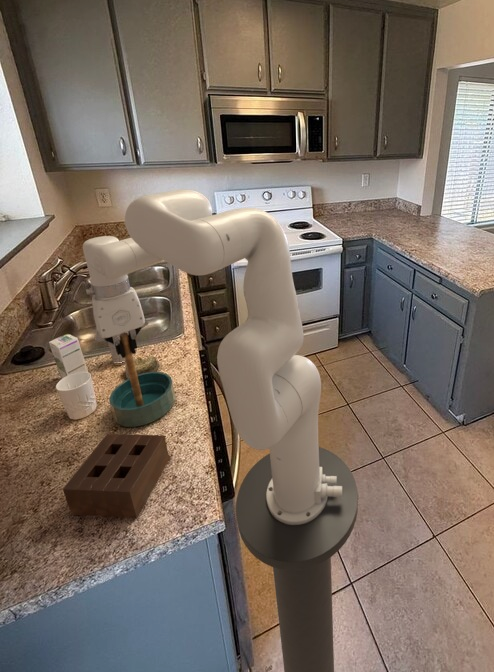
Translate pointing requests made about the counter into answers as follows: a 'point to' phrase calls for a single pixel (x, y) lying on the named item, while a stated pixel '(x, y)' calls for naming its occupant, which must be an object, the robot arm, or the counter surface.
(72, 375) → the white cup
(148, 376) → the bowl
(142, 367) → the tan textured clump
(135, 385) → the stick
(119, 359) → the energy drink
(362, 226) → the counter surface
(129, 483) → the holder
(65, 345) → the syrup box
